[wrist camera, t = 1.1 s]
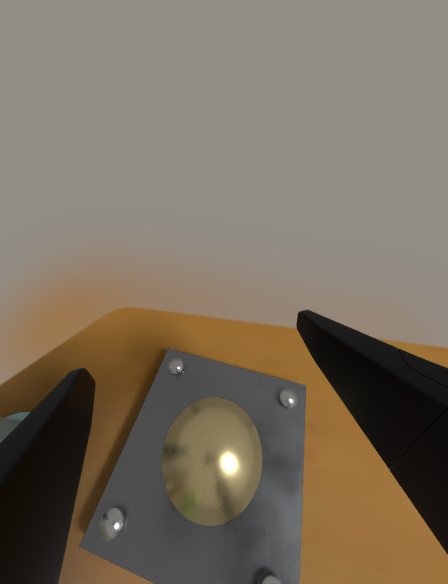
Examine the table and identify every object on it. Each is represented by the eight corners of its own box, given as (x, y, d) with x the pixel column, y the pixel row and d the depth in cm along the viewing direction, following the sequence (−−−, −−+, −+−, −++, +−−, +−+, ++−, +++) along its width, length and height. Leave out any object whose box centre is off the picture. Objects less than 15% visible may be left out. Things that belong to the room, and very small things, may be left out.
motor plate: (290, 634, 13) (300, 661, 11) (90, 538, 16) (74, 550, 14) (301, 388, 22) (308, 384, 20) (171, 353, 24) (167, 346, 23)
